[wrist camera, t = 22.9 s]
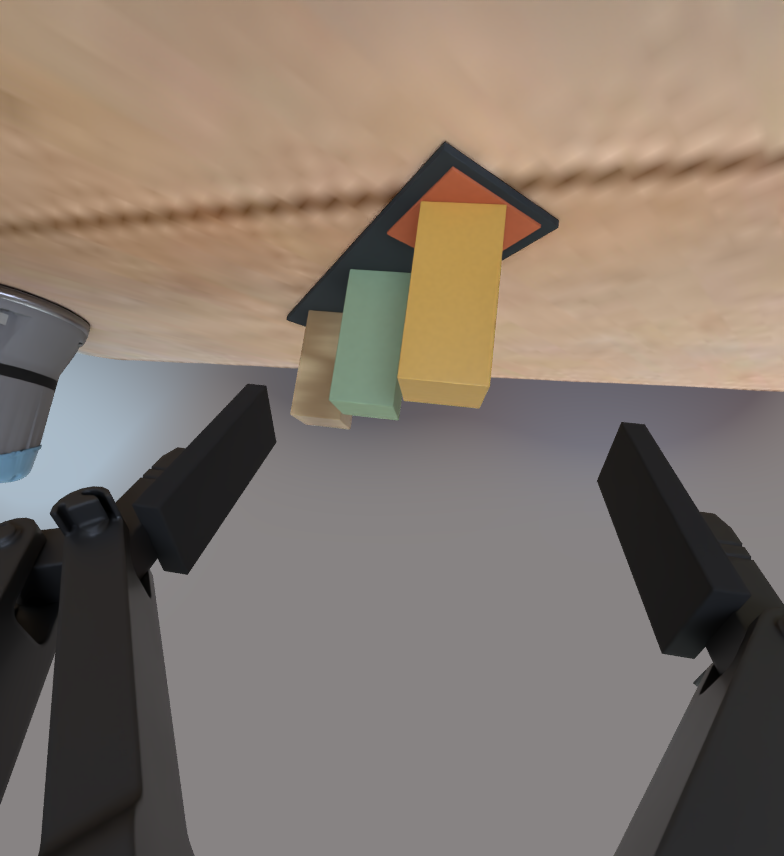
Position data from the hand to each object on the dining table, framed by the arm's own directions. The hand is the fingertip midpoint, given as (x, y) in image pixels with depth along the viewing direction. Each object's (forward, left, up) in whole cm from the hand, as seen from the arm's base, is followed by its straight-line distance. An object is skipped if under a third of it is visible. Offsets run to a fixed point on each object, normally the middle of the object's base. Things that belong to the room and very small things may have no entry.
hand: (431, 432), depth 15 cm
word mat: (-6, -16, -15) cm, 23 cm away
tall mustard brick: (0, -8, -15) cm, 17 cm away
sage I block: (-6, -16, -15) cm, 23 cm away
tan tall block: (-12, -24, -15) cm, 31 cm away
